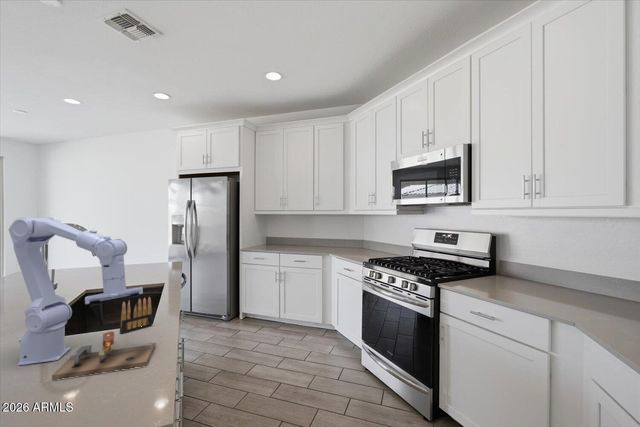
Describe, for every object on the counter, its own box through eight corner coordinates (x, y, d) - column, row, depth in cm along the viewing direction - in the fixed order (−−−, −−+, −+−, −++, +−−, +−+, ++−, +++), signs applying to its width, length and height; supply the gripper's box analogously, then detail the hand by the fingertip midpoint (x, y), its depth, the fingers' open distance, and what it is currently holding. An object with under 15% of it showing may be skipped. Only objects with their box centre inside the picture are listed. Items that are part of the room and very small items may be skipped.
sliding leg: (95, 363, 81) (96, 341, 81) (104, 352, 87) (105, 332, 87) (107, 361, 82) (107, 340, 82) (115, 350, 88) (115, 330, 88)
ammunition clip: (150, 325, 114) (151, 295, 115) (152, 326, 113) (152, 296, 113) (119, 333, 106) (120, 301, 106) (121, 334, 105) (121, 302, 105)
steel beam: (69, 360, 83) (69, 355, 83) (72, 357, 84) (72, 352, 84) (150, 349, 90) (150, 344, 90) (151, 347, 92) (151, 342, 92)
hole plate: (51, 381, 75) (52, 375, 75) (74, 358, 87) (75, 353, 87) (146, 366, 83) (146, 361, 83) (155, 347, 95) (155, 342, 95)
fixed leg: (70, 367, 79) (70, 357, 79) (81, 356, 85) (82, 346, 85) (80, 366, 80) (81, 355, 80) (91, 354, 86) (91, 344, 86)
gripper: (81, 284, 81) (85, 331, 80) (140, 275, 88) (144, 318, 88) (86, 281, 87) (89, 325, 86) (141, 272, 94) (144, 313, 94)
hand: (117, 321), depth 88 cm, fingers open, 7 cm apart
